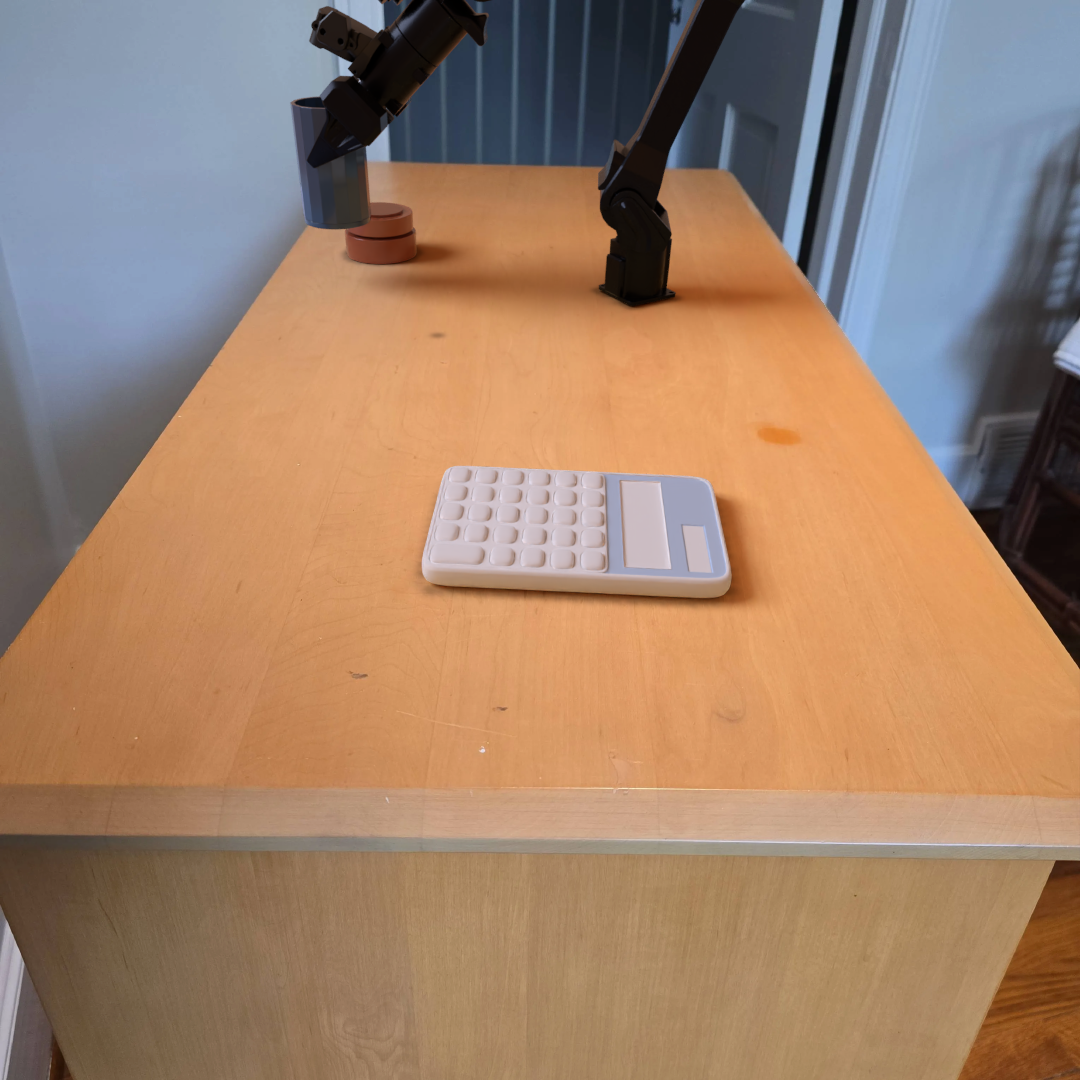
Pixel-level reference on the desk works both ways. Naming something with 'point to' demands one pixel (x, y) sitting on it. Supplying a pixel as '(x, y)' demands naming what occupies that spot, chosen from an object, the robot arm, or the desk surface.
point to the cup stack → (383, 236)
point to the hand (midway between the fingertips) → (319, 156)
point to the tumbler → (329, 175)
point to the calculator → (577, 533)
